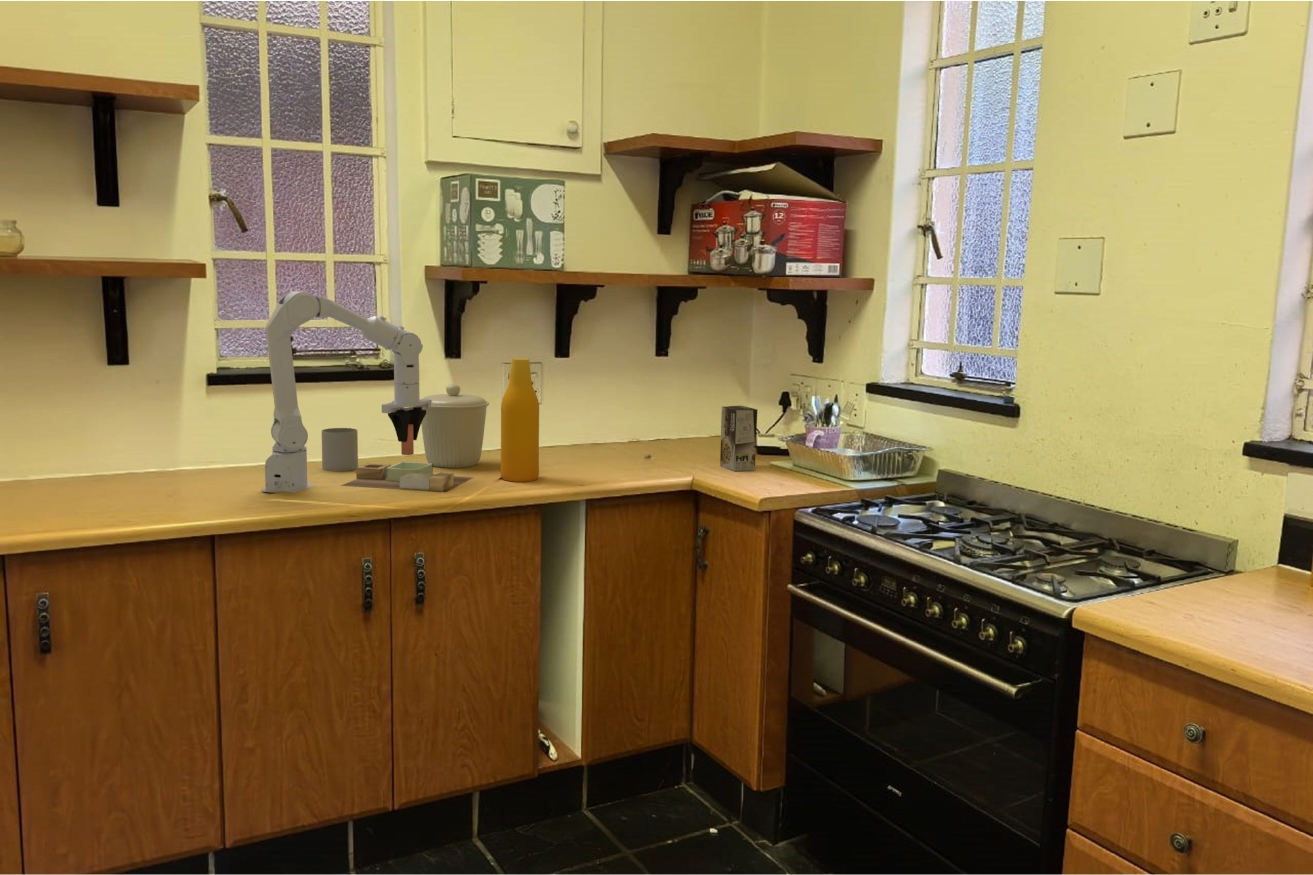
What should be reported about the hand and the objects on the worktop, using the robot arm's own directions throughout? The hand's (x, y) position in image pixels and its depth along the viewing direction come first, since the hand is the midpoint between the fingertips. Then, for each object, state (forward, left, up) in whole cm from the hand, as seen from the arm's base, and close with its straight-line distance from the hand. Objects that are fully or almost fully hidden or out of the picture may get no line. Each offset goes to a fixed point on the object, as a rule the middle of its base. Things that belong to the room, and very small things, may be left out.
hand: (407, 440), depth 246 cm
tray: (0, 0, -9) cm, 9 cm away
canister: (+21, -3, -10) cm, 23 cm away
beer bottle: (+10, -24, -10) cm, 28 cm away
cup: (+7, +21, -10) cm, 24 cm away
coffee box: (+41, -74, -10) cm, 86 cm away
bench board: (-4, -2, -10) cm, 10 cm away
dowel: (0, 0, -3) cm, 3 cm away
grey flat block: (-9, -7, -9) cm, 14 cm away
